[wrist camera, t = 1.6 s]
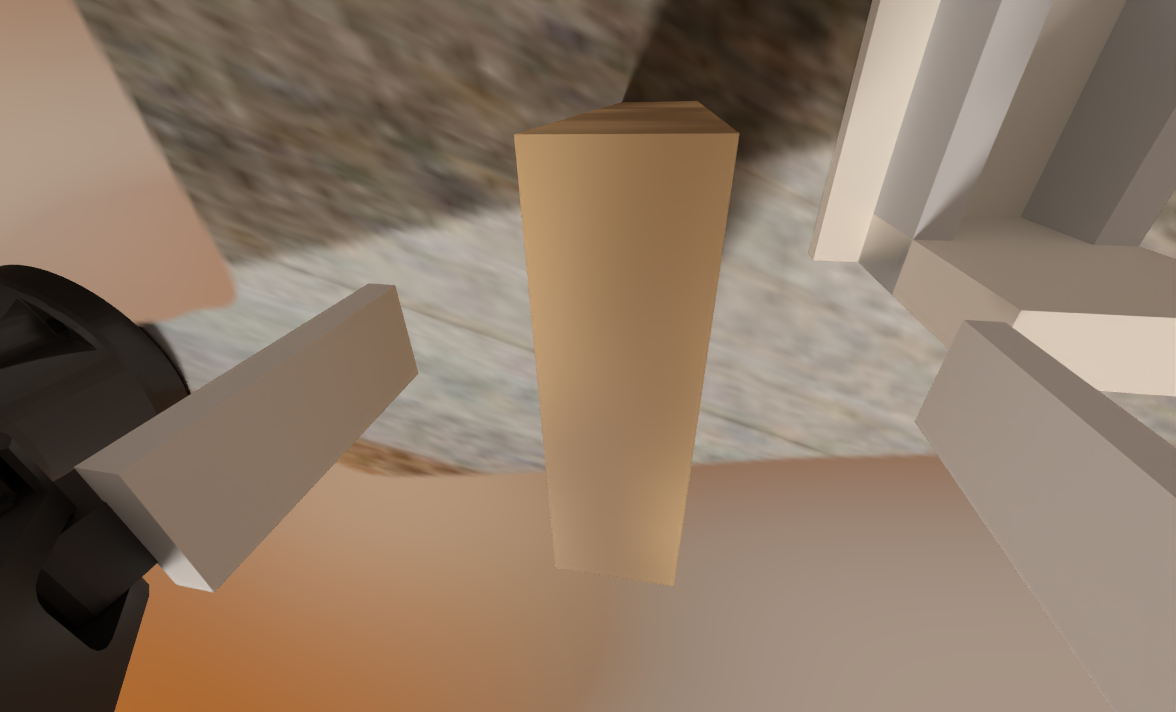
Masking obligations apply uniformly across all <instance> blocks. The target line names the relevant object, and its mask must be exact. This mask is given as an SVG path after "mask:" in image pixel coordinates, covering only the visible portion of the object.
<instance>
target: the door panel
mask: <svg viewBox="0 0 1176 712" xmlns="http://www.w3.org/2000/svg"><path fill="white" fill-rule="evenodd" d="M739 134H740V133H738V132H737V131H736V130H734V129H733V128H732V127H731V126H729V125H728V124H727V123H725V122H724V121H723V120H721V119H720V118H719V117H718V116H716V115H715V114H714V113H712V112H711V111H710V110H709V109H707V108H706V107H705V106H703V105H702V104H701V103H699V102H698V101H667V102H621V103H618V104H614V105H611V106H608V107H604V108H601V109H598V110H594V111H591V112H588V113H584V114H581V115H577V116H574V117H571V118H567V119H564V120H561V121H557V122H554V123H551V124H547V125H544V126H541V127H537V128H534V129H531V130H527V131H524V132H521V133H517V134H514V139H515V150H516V160H517V170H518V181H519V191H520V202H521V212H522V223H523V233H524V244H525V254H526V265H527V275H528V286H529V296H530V307H531V317H532V328H533V338H534V349H535V359H536V370H537V380H538V391H539V401H540V412H541V422H542V433H543V443H544V454H545V464H546V474H547V485H548V495H549V505H550V516H551V526H552V537H553V548H554V558H555V568H560V569H566V570H573V571H579V572H586V573H593V574H599V575H605V576H612V577H619V578H625V579H631V580H638V581H645V582H651V583H658V584H664V585H670V586H674V580H675V573H676V566H677V559H678V553H679V545H680V539H681V531H682V525H683V518H684V511H685V504H686V497H687V490H688V483H689V477H690V470H691V463H692V456H693V449H694V443H695V436H696V429H697V422H698V415H699V408H700V401H701V395H702V388H703V381H704V374H705V367H706V360H707V353H708V346H709V340H710V333H711V326H712V319H713V312H714V305H715V298H716V291H717V285H718V278H719V271H720V264H721V257H722V250H723V243H724V237H725V230H726V223H727V216H728V209H729V202H730V195H731V188H732V182H733V175H734V168H735V161H736V154H737V147H738V140H739Z"/></svg>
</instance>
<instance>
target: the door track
mask: <svg viewBox="0 0 1176 712" xmlns="http://www.w3.org/2000/svg"><path fill="white" fill-rule="evenodd" d="M1175 189H1176V0H872V4H871V8H870V12H869V16H868V19H867V23H866V27H865V31H864V35H863V39H862V43H861V47H860V51H859V55H858V59H857V63H856V67H855V71H854V75H853V79H852V83H851V87H850V91H849V95H848V99H847V103H846V107H845V111H844V115H843V119H842V123H841V127H840V131H839V135H838V139H837V143H836V147H835V151H834V155H833V159H832V163H831V167H830V171H829V174H828V178H827V182H826V186H825V190H824V194H823V198H822V202H821V206H820V210H819V214H818V218H817V222H816V226H815V230H814V234H813V238H812V242H811V246H810V250H809V256H810V257H811V258H812V260H819V261H846V262H859V263H860V264H861V265H862V266H863V267H864V268H865V269H866V270H867V271H868V272H869V273H870V274H871V275H872V276H873V277H874V278H875V279H876V280H877V281H878V282H879V283H880V284H881V285H882V286H883V287H884V288H885V289H886V290H888V291H889V292H890V293H891V294H892V295H893V296H894V297H895V298H896V299H897V300H898V301H899V302H900V303H901V304H902V305H903V306H904V307H905V308H906V309H907V310H908V311H909V312H910V313H911V314H912V315H913V316H914V317H915V318H916V319H917V320H918V321H919V322H920V323H921V324H923V325H924V326H925V327H926V328H927V329H928V330H929V331H930V332H931V333H932V334H933V335H934V336H935V337H936V338H937V339H938V340H939V341H940V342H941V343H942V344H943V345H944V346H945V347H946V348H947V349H948V350H949V349H950V347H951V345H952V343H953V341H954V339H955V337H956V334H957V332H958V330H959V328H960V326H961V324H962V322H963V320H977V321H993V322H1006V323H1007V324H1008V325H1010V326H1011V327H1012V328H1014V329H1015V330H1017V331H1018V332H1019V333H1021V334H1022V335H1023V336H1025V337H1026V338H1027V339H1029V340H1030V341H1031V342H1033V343H1034V344H1036V345H1037V346H1038V347H1040V348H1041V349H1042V350H1044V351H1045V352H1046V353H1048V354H1049V355H1050V356H1052V357H1053V358H1054V359H1056V360H1057V361H1059V362H1060V363H1061V364H1063V365H1064V366H1065V367H1067V368H1068V369H1069V370H1071V371H1072V372H1073V373H1075V374H1076V375H1078V376H1079V377H1080V378H1082V379H1083V380H1084V381H1086V382H1087V383H1088V384H1090V385H1091V386H1092V387H1094V388H1095V389H1096V390H1098V391H1110V392H1124V393H1138V394H1151V395H1165V396H1176V259H1174V258H1171V257H1168V256H1165V255H1162V254H1159V253H1156V252H1153V251H1151V250H1148V249H1145V248H1142V247H1139V245H1140V243H1141V241H1142V240H1143V238H1144V237H1145V235H1146V234H1147V232H1148V231H1149V229H1150V228H1151V226H1152V225H1153V223H1154V221H1155V220H1156V218H1157V217H1158V215H1159V214H1160V212H1161V211H1162V209H1163V208H1164V206H1165V205H1166V203H1167V201H1168V200H1169V198H1170V197H1171V195H1172V194H1173V192H1174V191H1175Z"/></svg>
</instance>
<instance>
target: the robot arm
mask: <svg viewBox="0 0 1176 712" xmlns="http://www.w3.org/2000/svg"><path fill="white" fill-rule="evenodd" d="M417 374H418V370H417V366H416V362H415V359H414V355H413V351H412V347H411V344H410V340H409V336H408V332H407V328H406V325H405V321H404V317H403V313H402V310H401V306H400V302H399V298H398V294H397V291H396V287H395V285H384V284H367V285H366V286H364V287H362V288H361V289H359V290H358V291H356V292H354V293H353V294H351V295H349V296H348V297H346V298H345V299H343V300H341V301H340V302H338V303H337V304H335V305H333V306H332V307H330V308H329V309H327V310H325V311H324V312H322V313H321V314H319V315H317V316H316V317H314V318H313V319H311V320H309V321H308V322H306V323H304V324H303V325H301V326H300V327H298V328H296V329H295V330H293V331H292V332H290V333H288V334H287V335H285V336H284V337H282V338H280V339H279V340H277V341H276V342H274V343H272V344H271V345H269V346H268V347H266V348H264V349H263V350H261V351H259V352H258V353H256V354H255V355H253V356H251V357H250V358H248V359H247V360H245V361H243V362H242V363H240V364H239V365H237V366H235V367H234V368H232V369H231V370H229V371H227V372H226V373H224V374H223V375H221V376H219V377H218V378H216V379H215V380H213V381H211V382H210V383H208V384H206V385H205V386H203V387H202V388H200V389H198V390H197V391H195V392H194V393H192V394H190V395H189V396H188V395H187V392H186V390H185V387H184V385H183V383H182V381H181V379H180V377H179V376H178V374H177V372H176V371H175V369H174V368H173V366H172V365H171V363H170V362H169V360H168V359H167V358H166V357H165V355H164V354H163V353H162V351H161V350H160V349H159V348H158V347H157V346H156V344H155V343H154V342H153V341H152V340H151V339H150V338H149V337H148V336H147V335H146V334H145V333H144V332H143V331H142V330H141V329H140V328H139V327H138V326H137V325H135V324H134V323H133V322H132V321H131V320H130V319H129V318H127V317H126V316H125V315H124V314H122V313H121V312H120V311H119V310H117V309H116V308H115V307H113V306H112V305H111V304H109V303H108V302H106V301H105V300H103V299H102V298H100V297H99V296H97V295H96V294H94V293H93V292H91V291H89V290H87V289H86V288H84V287H82V286H80V285H78V284H76V283H75V282H72V281H70V280H68V279H66V278H64V277H62V276H59V275H57V274H54V273H51V272H49V271H45V270H42V269H39V268H35V267H30V266H23V265H4V266H0V712H114V711H115V707H116V704H117V701H118V697H119V694H120V691H121V687H122V684H123V681H124V677H125V674H126V671H127V667H128V664H129V661H130V657H131V654H132V651H133V647H134V644H135V641H136V637H137V634H138V631H139V627H140V624H141V621H142V617H143V614H144V611H145V607H146V604H147V601H148V597H149V584H148V583H147V582H146V581H145V580H144V579H143V578H142V576H143V575H145V573H147V572H148V571H149V570H150V569H151V568H152V567H153V566H154V565H155V564H157V563H158V564H159V565H160V567H161V568H162V569H163V570H164V571H165V572H166V573H167V574H168V576H169V577H170V578H171V579H172V580H173V581H174V582H175V584H176V585H181V586H186V587H190V588H195V589H200V590H205V591H210V592H215V591H216V590H217V589H218V588H219V587H220V586H221V585H222V584H223V583H224V582H225V581H226V579H227V578H228V577H229V576H230V575H231V574H232V573H233V572H234V571H235V570H236V569H237V568H238V567H239V566H240V564H241V563H242V562H243V561H244V560H245V559H246V558H247V557H248V556H249V555H250V554H251V553H252V551H253V550H254V549H255V548H256V547H257V546H258V545H259V544H260V543H261V542H262V541H263V540H264V539H265V538H266V536H267V535H268V534H269V533H270V532H271V531H272V530H273V529H274V528H275V527H276V526H277V525H278V524H279V522H280V521H281V520H282V519H283V518H284V517H285V516H286V515H287V514H288V513H289V512H290V511H291V510H292V509H293V508H294V506H295V505H296V504H297V503H298V502H299V501H300V500H301V499H302V498H303V497H304V496H305V495H306V494H307V492H308V491H309V490H310V489H311V488H312V487H313V486H314V485H315V484H316V483H317V482H318V481H319V480H320V478H321V477H322V476H323V475H324V474H325V473H326V472H327V471H328V470H329V469H330V468H331V467H332V466H333V465H334V463H335V462H336V461H337V460H338V459H339V458H340V457H341V456H342V455H343V454H344V453H345V452H346V451H347V450H348V448H349V447H350V446H351V445H352V444H353V443H354V442H355V441H356V440H357V439H358V438H359V437H360V436H361V434H362V433H363V432H364V431H365V430H366V429H367V428H368V427H369V426H370V425H371V424H372V423H373V422H374V421H375V419H376V418H377V417H378V416H379V415H380V414H381V413H382V412H383V411H384V410H385V409H386V408H387V407H388V405H389V404H390V403H391V402H392V401H393V400H394V399H395V398H396V397H397V396H398V395H399V394H400V393H401V392H402V390H403V389H404V388H405V387H406V386H407V385H408V384H409V383H410V382H411V381H412V380H413V379H414V378H415V376H416V375H417ZM915 423H916V424H917V426H918V427H919V429H920V430H921V432H922V433H923V434H924V436H925V437H926V439H927V440H928V442H929V443H930V445H931V446H932V448H933V449H934V451H935V452H936V453H937V455H938V456H939V458H940V459H941V461H942V462H943V464H944V465H945V467H946V468H947V470H948V471H949V473H950V474H951V475H952V477H953V478H954V480H955V481H956V483H957V484H958V486H959V487H960V489H961V490H962V492H963V493H964V494H965V496H966V497H967V499H968V500H969V502H970V503H971V505H972V506H973V508H974V509H975V510H976V512H977V513H978V515H979V516H980V518H981V519H982V521H983V522H984V524H985V525H986V527H987V528H988V530H989V531H990V532H991V534H992V535H993V537H994V538H995V540H996V541H997V543H998V544H999V546H1000V547H1001V549H1002V550H1003V552H1004V553H1005V554H1006V556H1007V557H1008V559H1009V560H1010V562H1011V563H1012V565H1013V566H1014V568H1015V569H1016V571H1017V572H1018V573H1019V575H1020V577H1021V578H1022V579H1023V581H1024V582H1025V584H1026V585H1027V587H1028V588H1029V590H1030V591H1031V592H1032V594H1033V596H1034V597H1035V598H1036V600H1037V601H1038V603H1039V604H1040V606H1041V607H1042V609H1043V610H1044V612H1045V613H1046V614H1047V616H1048V617H1049V619H1050V620H1051V622H1052V623H1053V625H1054V626H1055V628H1056V629H1057V631H1058V632H1059V634H1060V635H1061V637H1062V638H1063V639H1064V641H1065V642H1066V644H1067V645H1068V647H1069V648H1070V650H1071V651H1072V653H1073V654H1074V655H1075V657H1076V658H1077V660H1078V661H1079V663H1080V664H1081V666H1082V667H1083V669H1084V670H1085V672H1086V673H1087V675H1088V676H1089V677H1090V679H1091V681H1092V682H1093V683H1094V685H1095V686H1096V688H1097V689H1098V691H1099V692H1100V694H1101V695H1102V697H1103V698H1104V700H1105V701H1106V702H1107V704H1108V705H1109V707H1110V708H1111V710H1112V711H1113V712H1176V448H1175V447H1174V446H1172V445H1171V444H1170V443H1168V442H1167V441H1166V440H1164V439H1163V438H1161V437H1160V436H1159V435H1157V434H1156V433H1155V432H1153V431H1152V430H1151V429H1149V428H1148V427H1147V426H1145V425H1144V424H1143V423H1141V422H1140V421H1138V420H1137V419H1136V418H1134V417H1133V416H1132V415H1130V414H1129V413H1128V412H1126V411H1125V410H1124V409H1122V408H1121V407H1119V406H1118V405H1117V404H1115V403H1114V402H1113V401H1111V400H1110V399H1109V398H1107V397H1106V396H1105V395H1103V394H1102V393H1101V392H1099V391H1098V390H1096V389H1095V388H1094V387H1092V386H1091V385H1090V384H1088V383H1087V382H1086V381H1084V380H1083V379H1082V378H1080V377H1079V376H1078V375H1076V374H1075V373H1073V372H1072V371H1071V370H1069V369H1068V368H1067V367H1065V366H1064V365H1063V364H1061V363H1060V362H1059V361H1057V360H1056V359H1054V358H1053V357H1052V356H1050V355H1049V354H1048V353H1046V352H1045V351H1044V350H1042V349H1041V348H1040V347H1038V346H1037V345H1036V344H1034V343H1033V342H1031V341H1030V340H1029V339H1027V338H1026V337H1025V336H1023V335H1022V334H1021V333H1019V332H1018V331H1017V330H1015V329H1014V328H1012V327H1011V326H1010V325H1008V324H1007V323H1006V322H993V321H977V320H963V322H962V324H961V326H960V328H959V330H958V332H957V334H956V337H955V339H954V341H953V343H952V345H951V347H950V349H949V351H948V353H947V355H946V357H945V360H944V362H943V364H942V366H941V368H940V370H939V372H938V374H937V376H936V378H935V380H934V382H933V385H932V387H931V389H930V391H929V393H928V395H927V397H926V399H925V401H924V403H923V405H922V407H921V410H920V412H919V414H918V416H917V418H916V420H915Z"/></svg>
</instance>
